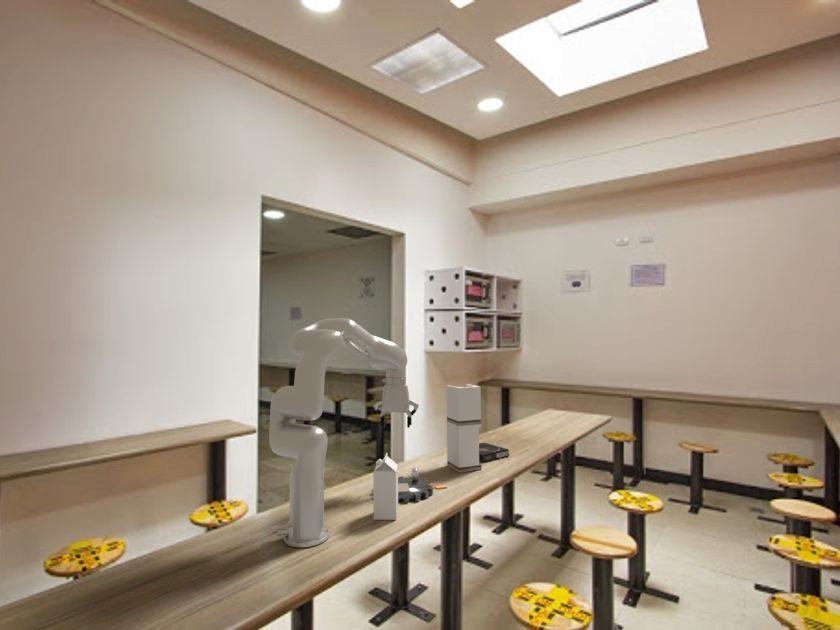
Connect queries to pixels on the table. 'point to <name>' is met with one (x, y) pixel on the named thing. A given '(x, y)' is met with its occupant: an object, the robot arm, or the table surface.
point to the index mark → (440, 487)
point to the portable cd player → (491, 452)
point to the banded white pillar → (463, 427)
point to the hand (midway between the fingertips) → (396, 426)
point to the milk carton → (385, 489)
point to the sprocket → (413, 487)
